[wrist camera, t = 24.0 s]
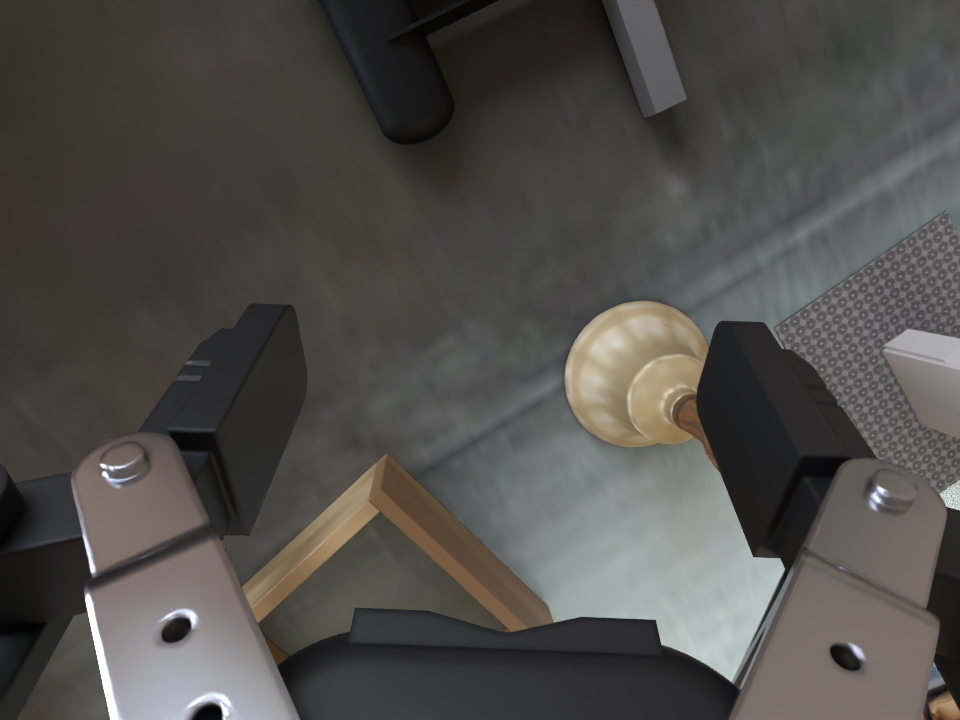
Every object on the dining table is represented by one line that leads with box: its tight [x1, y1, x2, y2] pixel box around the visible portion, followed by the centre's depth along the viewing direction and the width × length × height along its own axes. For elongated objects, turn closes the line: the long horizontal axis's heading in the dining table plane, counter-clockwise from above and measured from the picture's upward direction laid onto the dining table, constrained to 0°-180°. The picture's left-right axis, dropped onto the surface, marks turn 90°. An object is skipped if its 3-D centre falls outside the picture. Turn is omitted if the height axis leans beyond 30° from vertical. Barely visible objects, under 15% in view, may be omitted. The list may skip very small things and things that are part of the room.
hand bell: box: [564, 301, 720, 472], centre depth 26 cm, size 8×8×16 cm
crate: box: [242, 453, 553, 665], centre depth 33 cm, size 14×14×5 cm
